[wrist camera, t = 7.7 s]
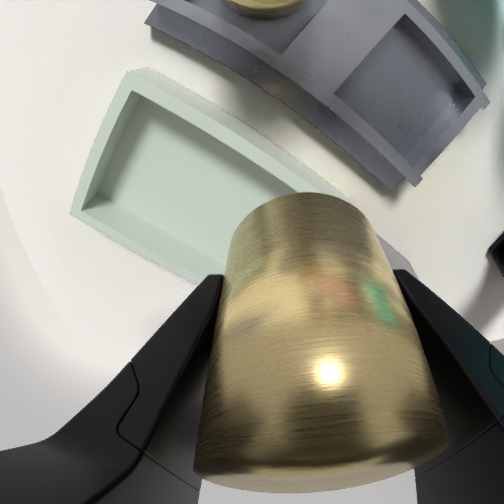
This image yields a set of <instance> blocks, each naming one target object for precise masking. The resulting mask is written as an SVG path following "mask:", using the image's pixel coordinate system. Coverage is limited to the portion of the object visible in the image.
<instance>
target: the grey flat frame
mask: <svg viewBox="0 0 504 504" xmlns="http://www.w3.org/2000/svg"><path fill="white" fill-rule="evenodd" d="M150 1H153V2H155V3H157V4H156V6H155V7H154V9H153V10H152V12H151V13H150V15H149V16H148V18H147V19H146V21H145V22H144V23H145V24H147V25H149V26H151V27H154V28H156V29H158V30H160V31H162V32H164V33H166V34H168V35H170V36H172V37H174V38H176V39H178V40H180V41H182V42H184V43H186V44H188V45H190V46H191V47H193V48H195V49H197V50H199V51H201V52H203V53H204V54H206V55H208V56H210V57H211V58H213V59H215V60H217V61H218V62H220V63H222V64H223V65H225V66H227V67H228V68H230V69H232V70H233V71H235V72H237V73H238V74H240V75H242V76H243V77H245V78H246V79H248V80H249V81H251V82H253V83H254V84H256V85H257V86H259V87H260V88H262V89H263V90H265V91H266V92H268V93H269V94H271V95H272V96H274V97H275V98H277V99H278V100H279V101H281V102H282V103H284V104H285V105H287V106H288V107H289V108H291V109H292V110H294V111H295V112H296V113H298V114H299V115H300V116H302V117H303V118H304V119H306V120H307V121H308V122H310V123H311V124H312V125H314V126H315V127H316V128H318V129H319V130H320V131H321V132H323V133H324V134H325V135H327V136H328V137H329V138H330V139H332V140H333V141H334V142H335V143H336V144H338V145H339V146H340V147H341V148H343V149H344V150H345V151H346V152H347V153H349V154H350V155H351V156H352V157H353V158H354V159H356V160H357V161H358V162H359V163H360V164H361V165H363V166H364V167H365V168H366V169H367V170H368V171H369V172H370V173H372V174H373V175H374V176H375V177H376V178H377V179H378V180H379V181H380V182H381V183H383V184H384V185H385V186H386V187H387V188H388V189H389V190H390V191H392V190H393V189H394V188H395V187H396V186H397V185H398V183H399V182H400V181H401V180H402V179H403V178H404V177H405V178H406V179H407V180H408V181H409V182H410V183H411V184H412V185H413V186H414V187H416V186H417V185H418V184H419V183H420V181H421V180H422V177H421V176H420V175H421V174H422V173H423V172H424V171H425V170H426V169H427V168H428V167H429V165H430V164H431V163H432V162H433V161H434V160H435V159H436V158H437V157H438V156H439V155H440V153H441V152H442V151H443V150H444V149H445V148H446V147H447V146H448V144H449V143H450V142H451V141H452V140H453V139H454V138H455V137H456V135H457V134H458V133H459V132H460V131H461V130H462V128H463V127H464V126H465V125H466V124H467V123H468V121H469V120H470V119H471V118H472V117H473V116H474V114H475V113H476V112H477V111H478V110H479V108H482V109H485V108H486V107H487V105H488V104H489V103H490V101H489V100H488V98H487V97H486V95H485V93H484V92H483V90H482V89H483V87H484V86H485V85H486V83H485V82H484V80H483V79H482V77H481V76H480V74H479V73H478V72H477V70H476V69H475V67H474V66H473V65H472V63H471V62H470V60H469V59H468V58H467V56H466V55H465V54H464V53H463V51H462V50H461V49H460V47H459V46H458V45H457V44H456V42H455V41H454V40H453V39H452V38H451V36H450V35H449V34H448V33H447V32H446V30H445V29H444V28H443V27H442V26H441V25H440V24H439V23H438V21H437V20H436V19H435V18H434V17H433V16H432V15H431V14H430V13H429V12H428V11H427V10H426V9H425V8H424V7H423V6H422V5H421V4H420V3H419V2H418V1H417V0H306V1H305V2H304V3H303V4H302V5H301V6H300V7H299V8H298V9H297V10H296V11H294V12H293V13H291V14H289V15H287V16H284V17H281V18H276V19H268V20H265V19H255V18H251V17H247V16H245V15H242V14H240V13H238V12H237V11H235V10H234V9H233V8H231V7H230V6H229V5H228V4H227V2H226V1H225V0H150Z"/></svg>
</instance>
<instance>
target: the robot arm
mask: <svg viewBox="0 0 504 504" xmlns="http://www.w3.org/2000/svg"><path fill="white" fill-rule="evenodd" d="M489 253H490V255H491V256H492V258H493V260H494V261H495V263H496V264H497V266H498V268H499V269H500V271H501V273H502V275H503V276H504V234H503V235H502V236H501V237H500V238H499V239H498V240H497V241H496V242H495V243H494V244H493V245H492V246H491V248H490V249H489ZM392 271H393V273H394V275H395V277H396V280H397V282H398V284H399V287H400V289H401V292H402V294H403V296H404V299H405V301H406V304H407V306H408V309H409V311H410V314H411V317H412V319H413V322H414V324H415V327H416V330H417V333H418V335H419V338H420V341H421V344H422V347H423V349H424V352H425V355H426V358H427V361H428V364H429V367H430V371H431V374H432V377H433V380H434V384H435V387H436V390H437V394H438V397H439V401H440V404H441V408H442V412H443V416H444V420H445V424H446V428H447V432H448V436H449V445H448V446H447V447H446V449H444V450H443V451H442V452H441V453H440V454H439V455H437V456H436V457H434V458H433V459H431V460H429V461H428V462H426V463H424V464H422V465H420V466H418V467H416V468H414V470H415V477H416V478H415V481H416V490H417V503H418V504H504V355H503V354H502V353H501V352H499V351H498V350H497V349H496V348H495V347H494V346H493V345H492V344H490V342H489V341H488V340H487V339H486V338H485V337H484V336H482V335H481V334H480V333H479V332H478V331H477V330H476V329H475V328H474V327H473V326H472V325H470V324H469V323H468V322H467V321H466V320H465V319H464V318H463V317H461V316H460V315H459V314H458V313H457V312H456V311H455V310H454V309H452V308H451V307H450V306H449V305H448V304H447V303H445V302H444V301H443V300H442V299H441V298H440V297H438V296H437V295H436V294H435V293H434V292H432V291H431V290H430V289H429V288H428V287H426V286H425V285H424V284H423V283H422V282H420V281H419V280H418V279H417V278H415V277H414V276H413V275H412V274H410V273H409V272H408V271H407V270H405V269H393V270H392ZM223 279H224V275H223V274H209V275H208V276H207V277H206V278H205V279H204V280H203V281H202V282H201V283H200V284H199V285H198V286H197V287H196V289H195V290H194V291H193V292H192V293H191V294H190V295H189V296H188V297H187V298H186V299H185V301H184V302H183V303H182V304H181V305H180V306H179V307H178V308H177V309H176V310H175V312H174V313H173V314H172V315H171V316H170V317H169V318H168V319H167V320H166V321H165V323H164V324H163V325H162V326H161V327H160V328H159V329H158V330H157V331H156V333H155V334H154V335H153V336H152V337H151V338H150V339H149V340H148V341H147V343H146V344H145V345H144V346H143V347H142V348H141V349H140V350H139V351H138V353H137V354H136V355H135V356H134V357H133V358H132V359H131V362H132V363H131V362H129V363H128V364H127V365H126V366H125V367H124V368H123V369H122V370H121V371H120V373H119V374H118V375H117V376H116V377H115V378H114V379H113V380H112V381H111V382H110V383H109V384H108V385H107V386H106V387H105V388H104V389H103V390H102V391H101V392H100V393H99V394H98V395H97V396H96V397H95V398H94V399H93V400H92V401H91V402H90V403H88V404H87V405H86V406H85V407H84V408H83V409H82V410H81V411H80V412H79V413H77V414H76V415H75V416H74V417H73V418H72V419H71V420H70V421H69V422H68V423H66V424H65V425H64V426H63V427H62V428H61V429H60V430H59V431H58V432H56V433H55V434H53V435H52V436H50V437H49V438H47V439H45V440H42V441H40V442H37V443H34V444H29V445H25V446H21V447H17V448H12V449H8V450H3V451H0V504H198V499H199V491H200V487H201V482H202V478H201V477H199V476H198V475H196V474H195V473H194V471H193V465H194V457H195V450H196V444H197V437H198V430H199V423H200V417H201V410H202V404H203V397H204V391H205V384H206V378H207V372H208V366H209V360H210V354H211V348H212V342H213V336H214V330H215V324H216V318H217V312H218V307H219V301H220V295H221V290H222V284H223Z"/></svg>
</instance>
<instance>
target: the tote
mask: <svg viewBox="0 0 504 504" xmlns="http://www.w3.org/2000/svg"><path fill="white" fill-rule="evenodd" d="M301 192H315V193H323V194H328V195H332V196H335V197H338V198H340V199H342V200H345V201H347V202H349V203H350V204H351V202H350V200H349V198H348V197H346V196H345V195H344V194H343V193H341V192H340V191H339V190H338V189H336V188H335V187H334V186H332V185H331V184H330V183H328V182H327V181H326V180H325V179H323V178H322V177H321V176H319V175H318V174H317V173H315V172H314V171H313V170H311V169H310V168H309V167H307V166H306V165H304V164H303V163H302V162H300V161H299V160H298V159H296V158H295V157H293V156H292V155H291V154H289V153H288V152H286V151H285V150H283V149H282V148H281V147H279V146H278V145H276V144H275V143H273V142H272V141H270V140H269V139H268V138H266V137H265V136H263V135H262V134H260V133H259V132H257V131H256V130H254V129H253V128H251V127H249V126H248V125H246V124H245V123H243V122H242V121H240V120H239V119H237V118H235V117H234V116H232V115H231V114H229V113H228V112H226V111H224V110H223V109H221V108H219V107H218V106H216V105H215V104H213V103H211V102H210V101H208V100H206V99H204V98H203V97H201V96H199V95H198V94H196V93H194V92H192V91H191V90H189V89H187V88H185V87H184V86H182V85H180V84H178V83H177V82H175V81H173V80H171V79H169V78H167V77H166V76H164V75H162V74H160V73H158V72H156V71H154V70H152V69H150V68H149V67H147V68H142V69H137V70H132V71H127V72H126V74H125V76H124V78H123V80H122V82H121V84H120V86H119V88H118V90H117V92H116V94H115V96H114V98H113V100H112V102H111V104H110V106H109V108H108V111H107V113H106V115H105V117H104V119H103V122H102V124H101V126H100V129H99V131H98V133H97V136H96V138H95V141H94V143H93V146H92V148H91V151H90V154H89V156H88V159H87V162H86V164H85V167H84V170H83V173H82V176H81V179H80V181H79V184H78V188H77V191H76V194H75V197H74V200H73V203H72V207H71V210H70V215H72V216H73V217H75V218H77V219H78V220H80V221H82V222H84V223H85V224H87V225H89V226H90V227H92V228H94V229H95V230H97V231H99V232H101V233H102V234H104V235H106V236H108V237H109V238H111V239H113V240H115V241H116V242H118V243H120V244H122V245H123V246H125V247H127V248H129V249H130V250H132V251H134V252H136V253H138V254H139V255H141V256H143V257H145V258H147V259H149V260H150V261H152V262H154V263H156V264H158V265H160V266H162V267H163V268H165V269H167V270H169V271H171V272H173V273H175V274H177V275H178V276H180V277H182V278H184V279H186V280H188V281H190V282H192V283H194V284H196V285H199V284H200V283H201V282H202V281H203V280H204V279H205V278H206V277H207V276H208V275H209V274H223V275H224V273H225V268H226V262H227V257H228V251H229V246H230V243H231V239H232V237H233V235H234V232H235V230H236V229H237V227H238V226H239V224H240V223H241V222H242V221H243V219H244V218H245V217H246V216H247V215H248V214H249V213H251V212H252V211H253V210H254V209H256V208H257V207H259V206H260V205H262V204H263V203H265V202H268V201H270V200H272V199H274V198H277V197H280V196H283V195H287V194H293V193H301Z"/></svg>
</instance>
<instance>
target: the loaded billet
mask: <svg viewBox="0 0 504 504" xmlns="http://www.w3.org/2000/svg"><path fill="white" fill-rule="evenodd" d="M225 1H226V2H227V4H228V5H229V6H230V7H231V8H233V9H234V10H235V11H237V12H238V13H240V14H242V15H245V16H247V17H251V18H255V19H265V20H268V19H276V18H281V17H284V16H287V15H289V14H291V13H293V12H294V11H296V10H297V9H298V8H299V7H300V6H301V5H302V4H303V3H304V2H305V1H306V0H225Z"/></svg>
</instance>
